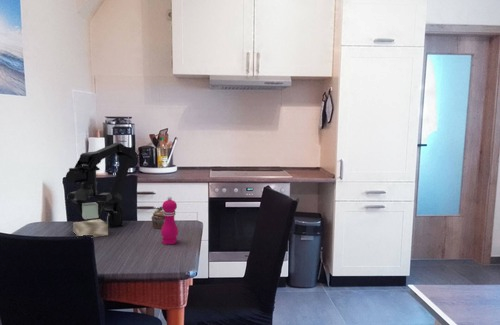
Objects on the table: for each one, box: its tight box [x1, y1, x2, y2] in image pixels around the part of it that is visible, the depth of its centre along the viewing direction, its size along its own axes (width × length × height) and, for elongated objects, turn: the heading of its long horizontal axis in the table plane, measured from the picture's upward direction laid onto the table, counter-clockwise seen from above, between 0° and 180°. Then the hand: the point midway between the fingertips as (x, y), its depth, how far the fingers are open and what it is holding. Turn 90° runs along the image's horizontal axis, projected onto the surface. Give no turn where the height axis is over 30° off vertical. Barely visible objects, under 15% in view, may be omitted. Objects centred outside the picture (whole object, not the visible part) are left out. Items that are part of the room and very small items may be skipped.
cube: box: [81, 201, 100, 220], centre depth 171 cm, size 6×6×6 cm
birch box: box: [72, 218, 109, 238], centre depth 171 cm, size 12×12×5 cm
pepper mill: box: [160, 196, 179, 245], centre depth 161 cm, size 7×7×20 cm
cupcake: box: [151, 206, 165, 230], centre depth 185 cm, size 10×10×10 cm
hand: (90, 214), depth 171 cm, fingers closed on cube, 8 cm apart
